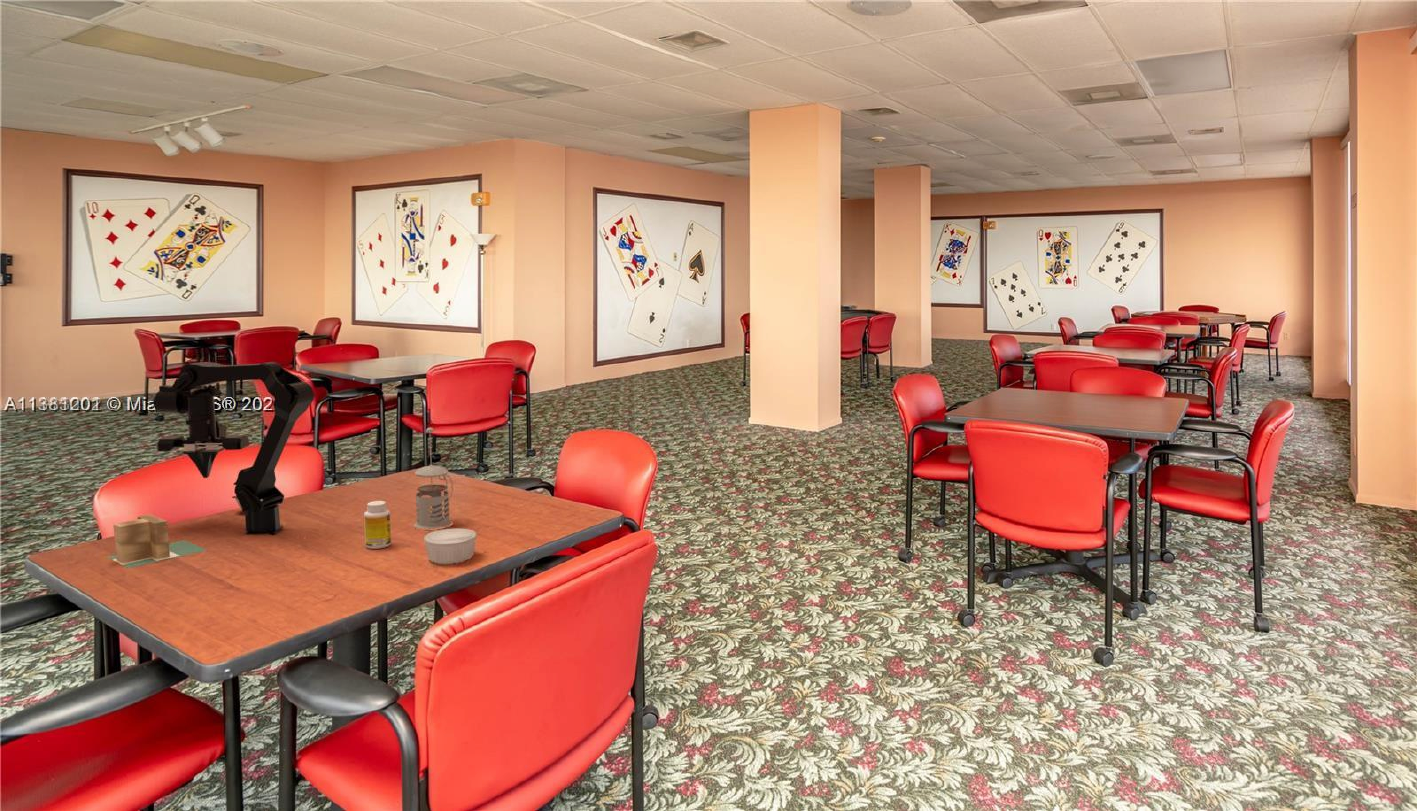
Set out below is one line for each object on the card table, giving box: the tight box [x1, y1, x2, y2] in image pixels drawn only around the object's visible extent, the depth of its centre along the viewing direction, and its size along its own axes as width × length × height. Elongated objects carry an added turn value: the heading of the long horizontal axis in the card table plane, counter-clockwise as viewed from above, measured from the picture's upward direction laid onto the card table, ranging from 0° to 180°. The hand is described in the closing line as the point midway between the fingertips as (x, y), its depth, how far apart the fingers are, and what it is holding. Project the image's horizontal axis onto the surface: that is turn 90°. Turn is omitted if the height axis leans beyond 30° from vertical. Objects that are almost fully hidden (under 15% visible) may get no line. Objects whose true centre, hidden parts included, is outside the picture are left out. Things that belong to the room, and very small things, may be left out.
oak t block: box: [113, 514, 170, 563], centre depth 182 cm, size 8×9×8 cm
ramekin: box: [423, 528, 478, 565], centre depth 185 cm, size 11×11×5 cm
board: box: [107, 539, 207, 569], centre depth 185 cm, size 16×12×1 cm
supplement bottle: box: [363, 500, 392, 550], centre depth 193 cm, size 6×6×10 cm
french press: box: [413, 427, 454, 529], centre depth 210 cm, size 10×12×25 cm
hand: (206, 477), depth 204 cm, fingers closed
